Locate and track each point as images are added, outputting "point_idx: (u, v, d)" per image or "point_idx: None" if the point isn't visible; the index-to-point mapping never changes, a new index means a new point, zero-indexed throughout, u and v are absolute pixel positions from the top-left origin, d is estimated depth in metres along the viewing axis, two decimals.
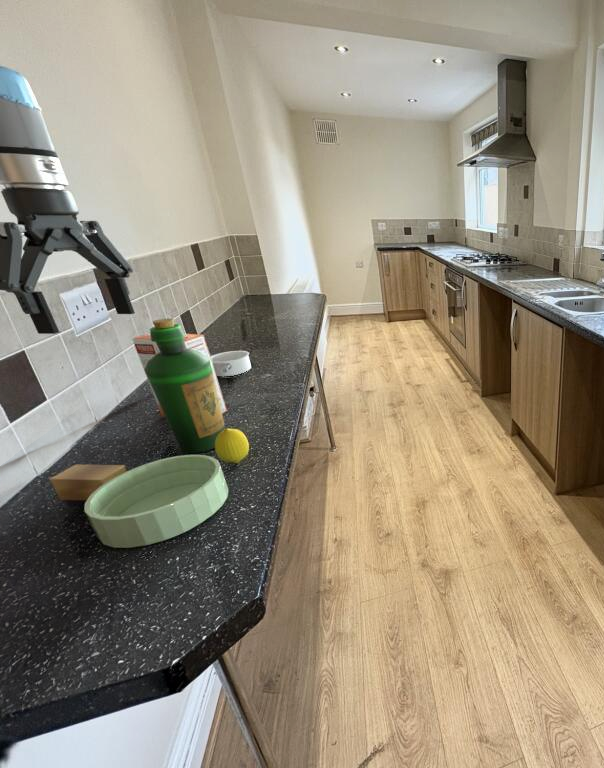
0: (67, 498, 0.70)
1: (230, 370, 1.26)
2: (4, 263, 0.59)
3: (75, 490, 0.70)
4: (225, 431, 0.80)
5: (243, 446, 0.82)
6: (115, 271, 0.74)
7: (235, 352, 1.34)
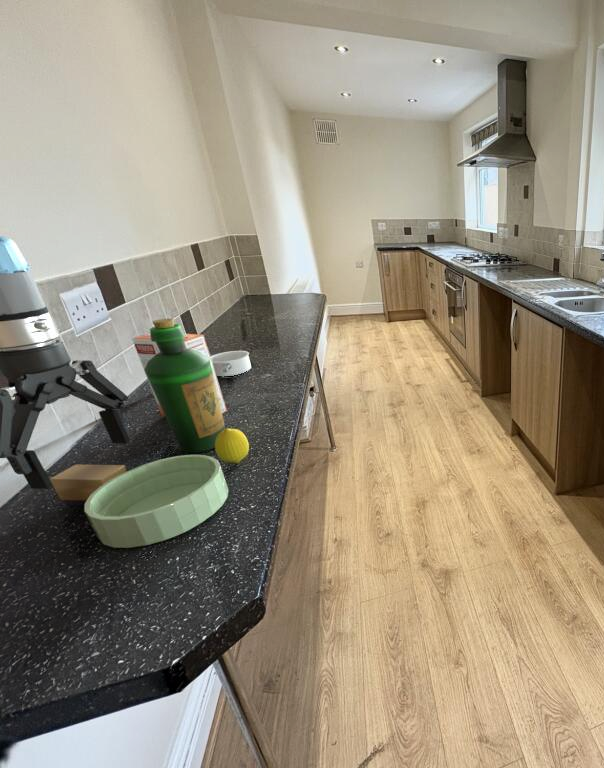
0: (67, 498, 0.70)
1: (230, 370, 1.26)
2: None
3: (75, 490, 0.70)
4: (225, 431, 0.80)
5: (243, 446, 0.82)
6: (109, 405, 0.73)
7: (235, 352, 1.34)
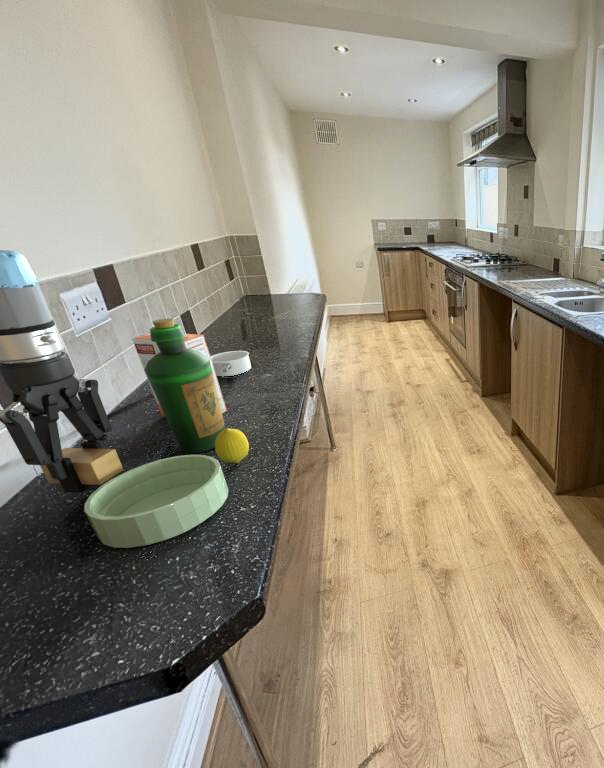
0: (56, 481, 0.69)
1: (230, 370, 1.26)
2: (26, 446, 0.62)
3: None
4: (225, 431, 0.80)
5: (243, 446, 0.82)
6: (93, 433, 0.71)
7: (235, 352, 1.34)
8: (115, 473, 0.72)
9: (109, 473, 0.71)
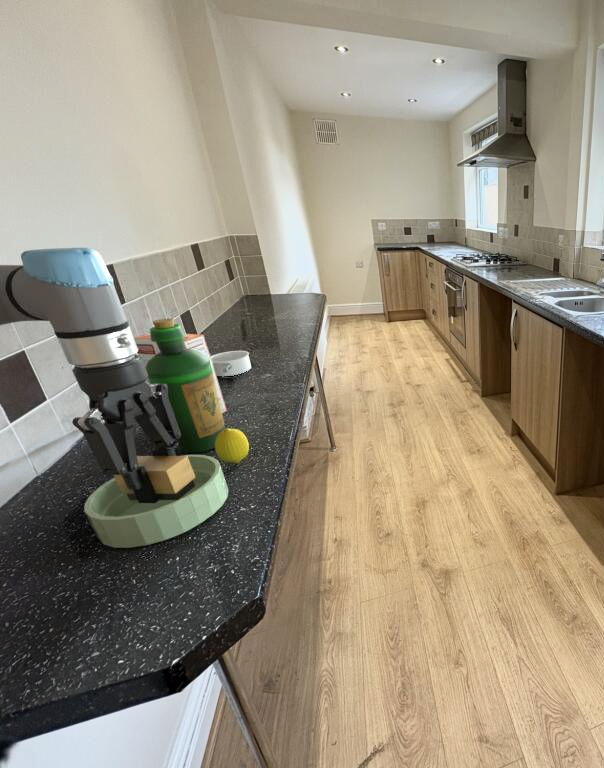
0: (129, 491, 0.66)
1: (230, 370, 1.26)
2: (104, 455, 0.59)
3: None
4: (225, 431, 0.80)
5: (243, 446, 0.82)
6: (165, 440, 0.68)
7: (235, 352, 1.34)
8: (188, 481, 0.68)
9: (183, 481, 0.67)
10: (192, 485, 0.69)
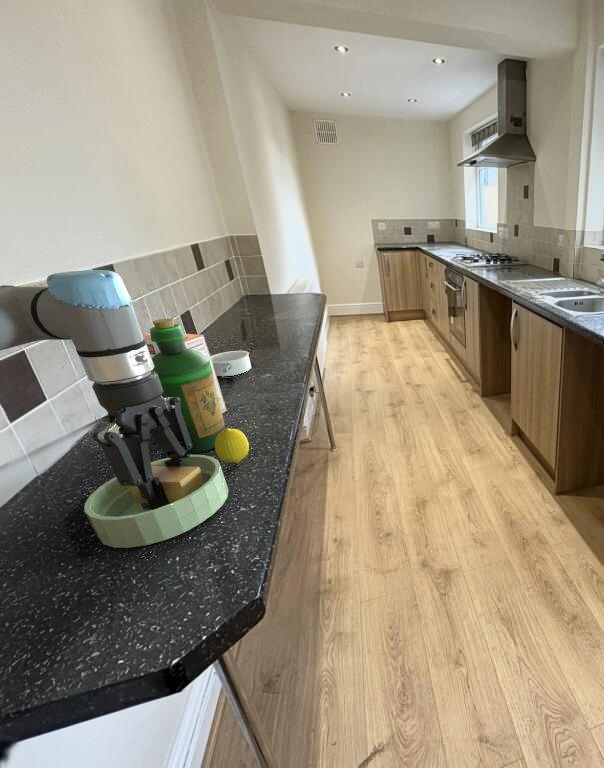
0: (143, 501, 0.68)
1: (230, 370, 1.26)
2: (122, 467, 0.61)
3: None
4: (225, 431, 0.80)
5: (243, 446, 0.82)
6: (177, 451, 0.70)
7: (235, 352, 1.34)
8: None
9: None
10: None
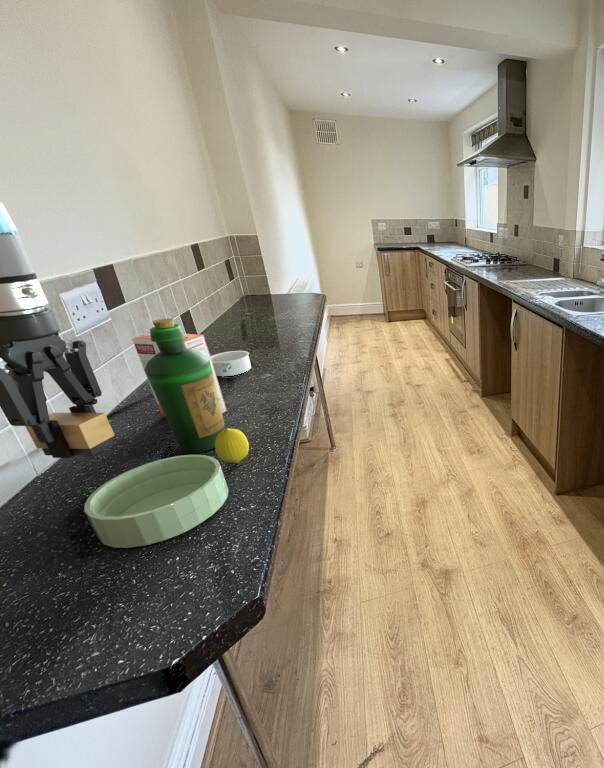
0: (44, 446, 0.66)
1: (230, 370, 1.26)
2: (9, 404, 0.59)
3: None
4: (225, 431, 0.80)
5: (243, 446, 0.82)
6: (82, 396, 0.68)
7: (235, 352, 1.34)
8: (105, 438, 0.69)
9: (99, 437, 0.68)
10: (111, 443, 0.70)
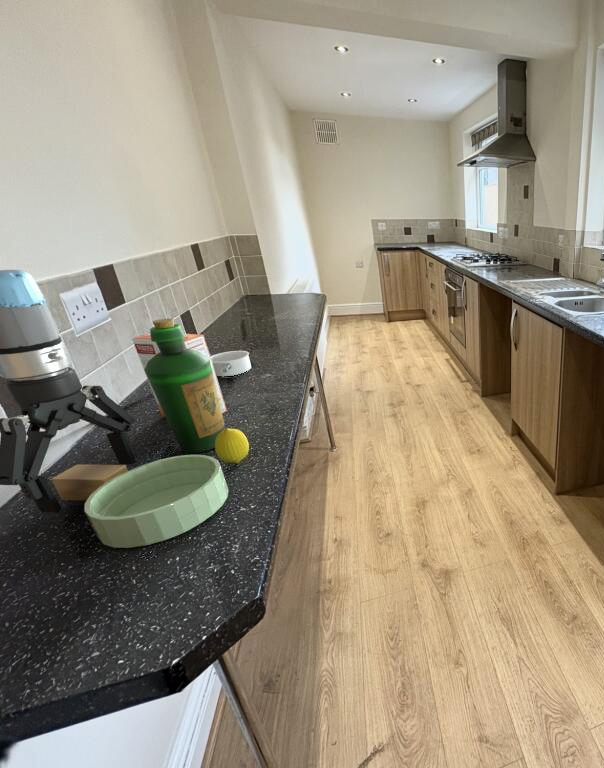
0: (68, 498, 0.70)
1: (230, 370, 1.26)
2: (8, 459, 0.60)
3: (77, 490, 0.70)
4: (225, 431, 0.80)
5: (243, 446, 0.82)
6: (117, 428, 0.75)
7: (235, 352, 1.34)
8: None
9: None
10: None
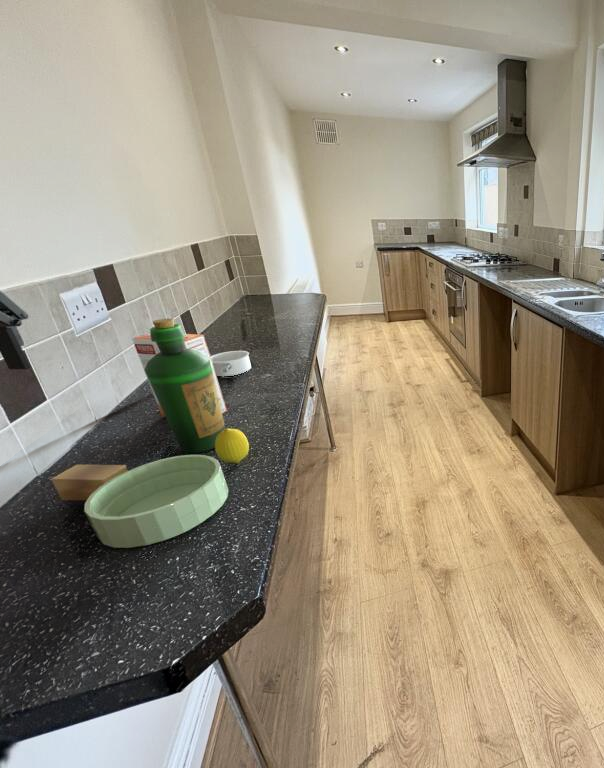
0: (68, 498, 0.70)
1: (230, 370, 1.26)
2: None
3: (77, 490, 0.70)
4: (225, 431, 0.80)
5: (243, 446, 0.82)
6: (1, 320, 0.61)
7: (235, 352, 1.34)
8: None
9: None
10: None
